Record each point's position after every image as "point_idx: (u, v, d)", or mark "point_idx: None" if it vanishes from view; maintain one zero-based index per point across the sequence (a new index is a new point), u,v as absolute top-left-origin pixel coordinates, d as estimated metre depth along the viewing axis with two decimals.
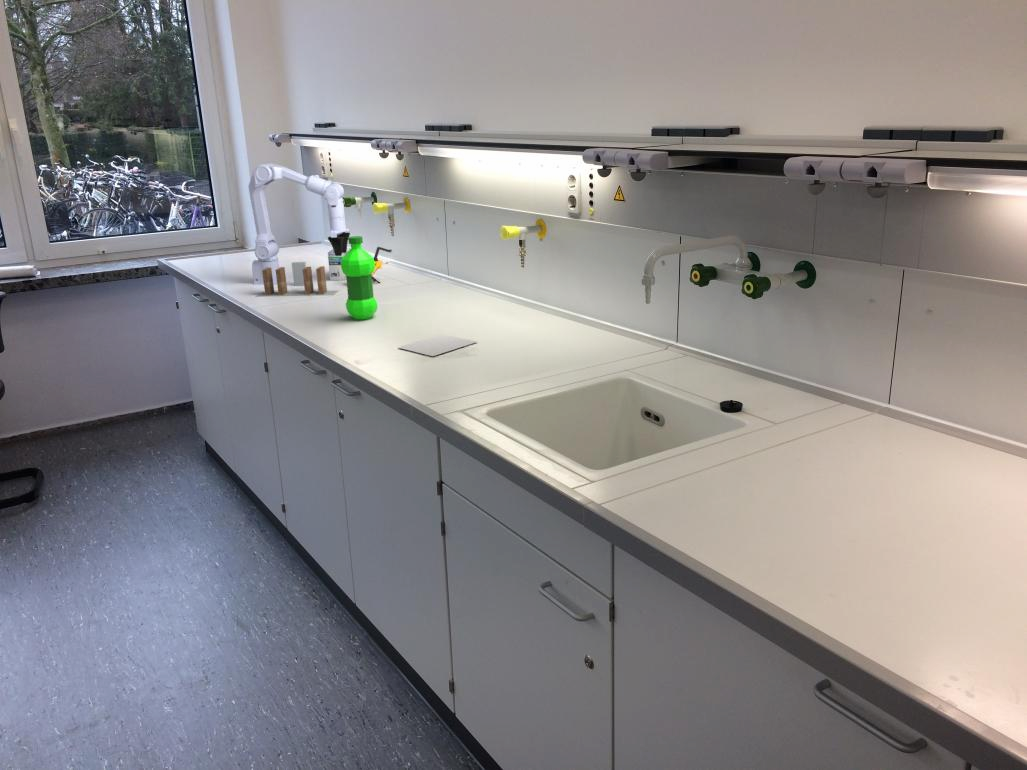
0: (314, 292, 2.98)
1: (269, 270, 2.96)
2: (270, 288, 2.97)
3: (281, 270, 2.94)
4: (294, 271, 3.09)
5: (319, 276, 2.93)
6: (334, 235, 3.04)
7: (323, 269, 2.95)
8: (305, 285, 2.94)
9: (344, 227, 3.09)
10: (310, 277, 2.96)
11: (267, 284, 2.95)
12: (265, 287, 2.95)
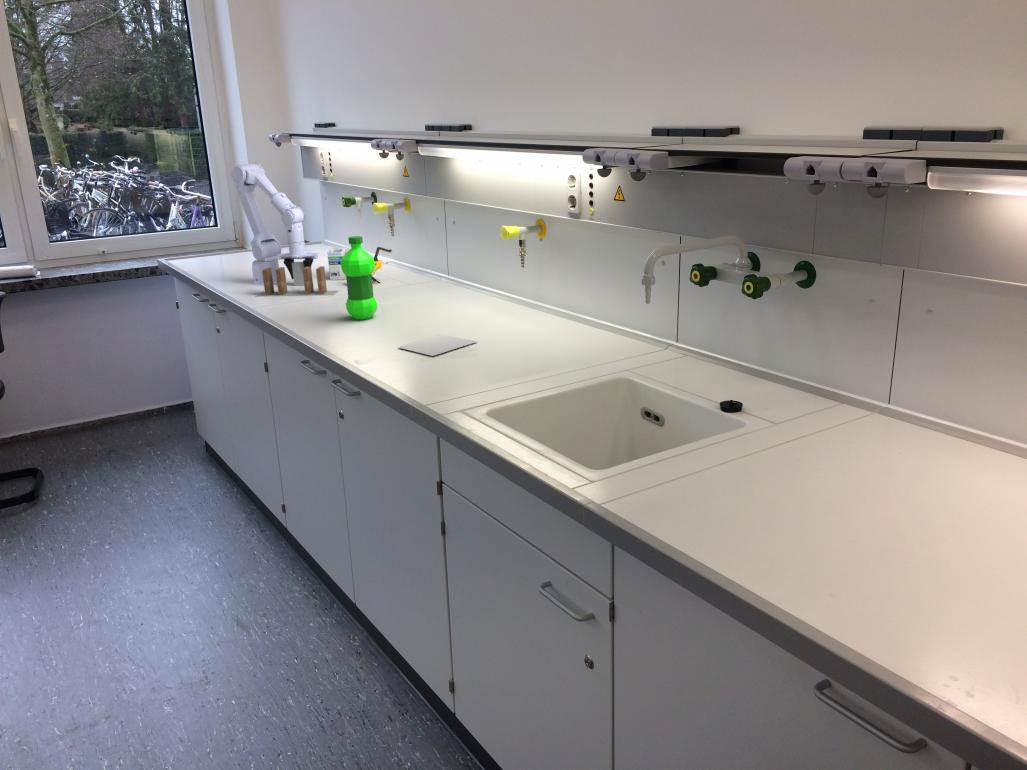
0: (314, 292, 2.98)
1: (269, 270, 2.96)
2: (270, 288, 2.97)
3: (281, 270, 2.94)
4: (294, 271, 3.09)
5: (319, 276, 2.93)
6: None
7: (323, 269, 2.95)
8: (305, 285, 2.94)
9: (292, 253, 3.05)
10: (310, 277, 2.96)
11: (267, 284, 2.95)
12: (265, 287, 2.95)
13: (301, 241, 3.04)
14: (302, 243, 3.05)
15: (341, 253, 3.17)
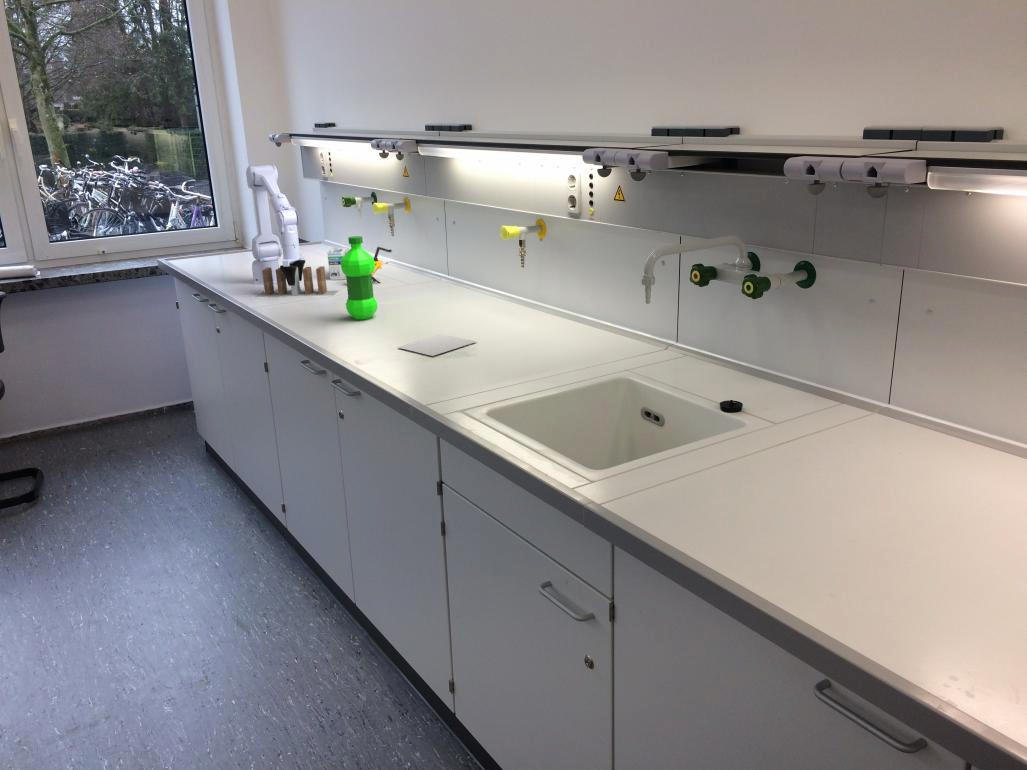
0: (314, 292, 2.98)
1: (269, 270, 2.96)
2: (270, 288, 2.97)
3: (281, 270, 2.94)
4: (295, 278, 2.94)
5: (319, 276, 2.93)
6: (286, 264, 2.87)
7: (323, 269, 2.95)
8: (305, 285, 2.94)
9: (298, 255, 2.92)
10: (310, 277, 2.96)
11: (267, 284, 2.95)
12: (265, 287, 2.95)
13: (292, 244, 2.90)
14: None
15: (341, 253, 3.17)
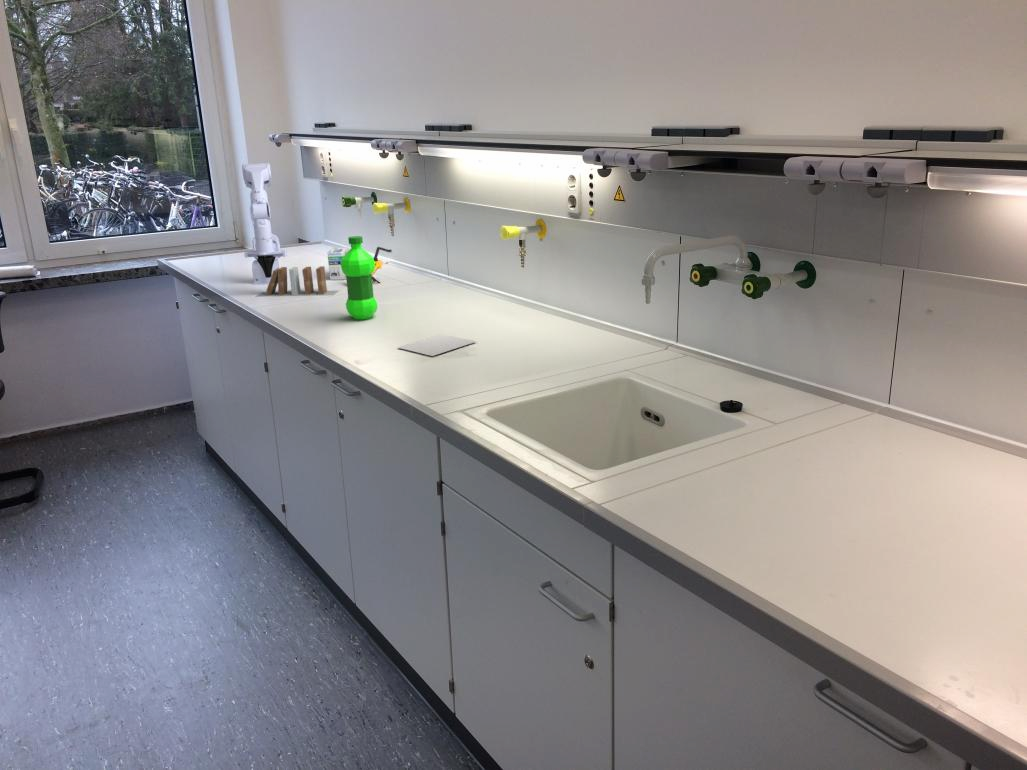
0: (314, 292, 2.98)
1: None
2: (273, 289, 2.97)
3: (283, 270, 2.94)
4: (295, 278, 2.94)
5: (319, 276, 2.93)
6: None
7: (323, 269, 2.95)
8: (305, 285, 2.94)
9: (259, 250, 2.91)
10: (310, 277, 2.96)
11: (272, 285, 2.95)
12: (269, 286, 2.95)
13: (262, 238, 2.89)
14: (270, 240, 2.91)
15: (341, 253, 3.17)
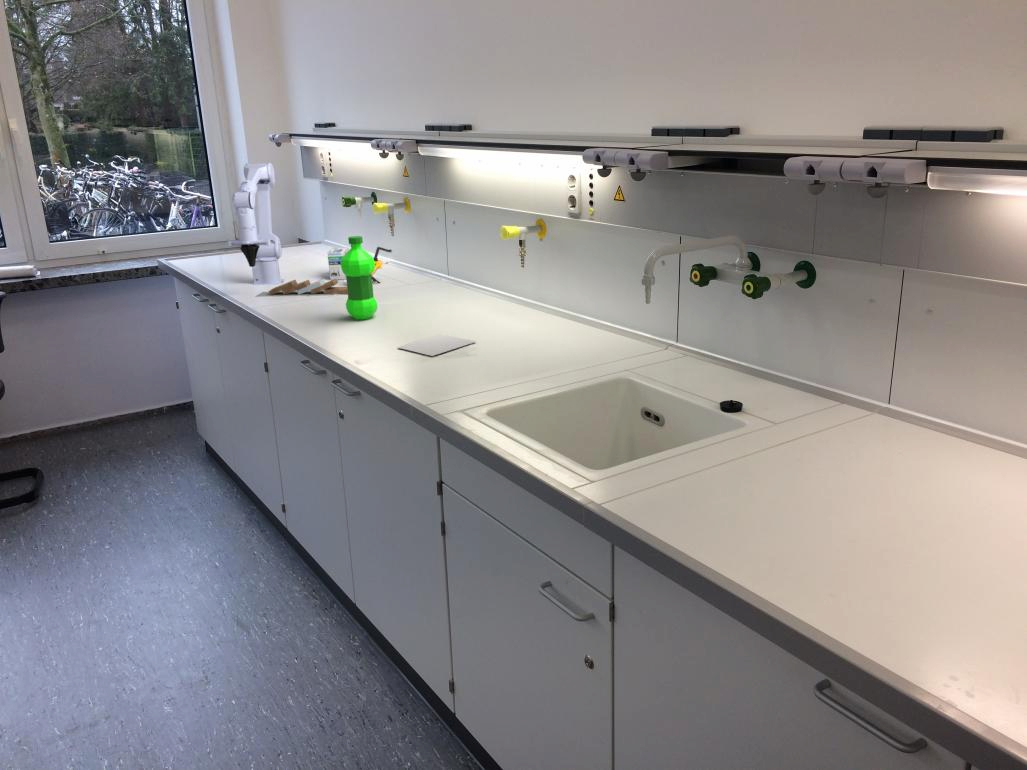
0: None
1: (293, 285, 2.97)
2: None
3: (306, 286, 2.96)
4: (313, 288, 2.95)
5: (341, 292, 2.94)
6: None
7: None
8: (318, 288, 2.94)
9: (243, 239, 2.90)
10: None
11: (280, 290, 2.95)
12: (276, 289, 2.95)
13: (244, 227, 2.89)
14: (253, 229, 2.90)
15: (341, 253, 3.17)
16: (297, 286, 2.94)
